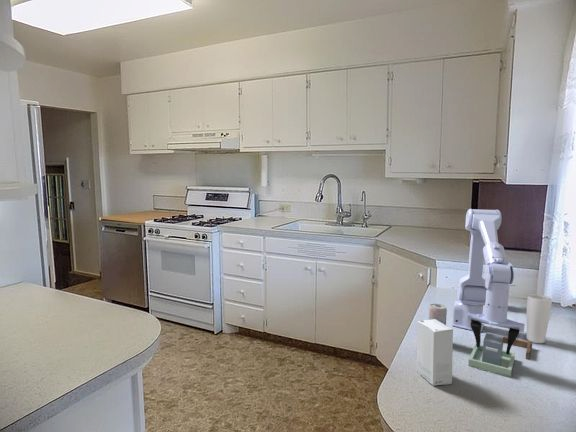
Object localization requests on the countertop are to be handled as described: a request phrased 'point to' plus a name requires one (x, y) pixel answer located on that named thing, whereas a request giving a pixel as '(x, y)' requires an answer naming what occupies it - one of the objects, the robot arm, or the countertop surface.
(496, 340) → the grey box with handle
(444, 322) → the energy drink
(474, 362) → the tray
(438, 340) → the skincare box
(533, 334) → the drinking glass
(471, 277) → the robot arm
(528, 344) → the frame
